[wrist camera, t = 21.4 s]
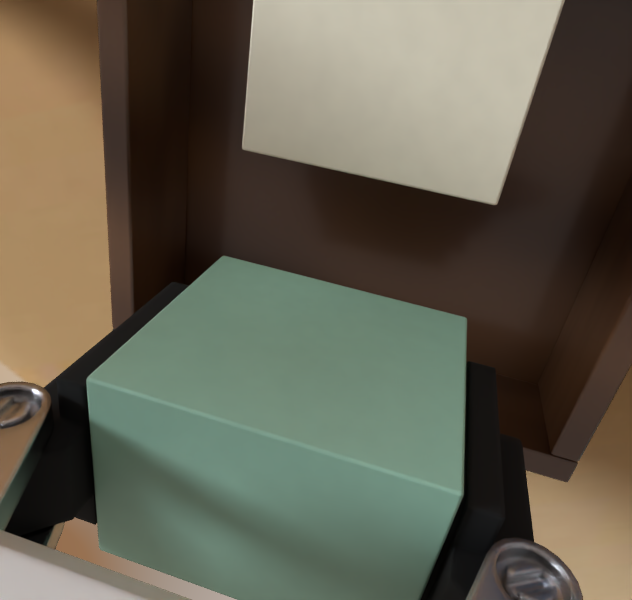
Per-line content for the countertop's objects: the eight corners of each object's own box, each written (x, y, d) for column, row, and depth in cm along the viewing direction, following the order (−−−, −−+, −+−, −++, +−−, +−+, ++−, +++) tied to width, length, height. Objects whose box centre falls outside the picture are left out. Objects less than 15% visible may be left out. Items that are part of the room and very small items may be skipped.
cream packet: (323, -39, 14) (257, -68, 10) (539, -5, 13) (572, -20, 9) (303, 117, 16) (240, 150, 12) (490, 155, 15) (497, 206, 11)
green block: (222, 254, 12) (84, 377, 8) (467, 316, 11) (465, 495, 7) (213, 390, 14) (97, 550, 10) (421, 453, 13) (396, 659, 9)
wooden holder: (180, -139, 14) (85, -194, 11) (766, -62, 12) (887, -98, 9) (172, 294, 21) (112, 349, 17) (550, 397, 19) (568, 483, 15)
